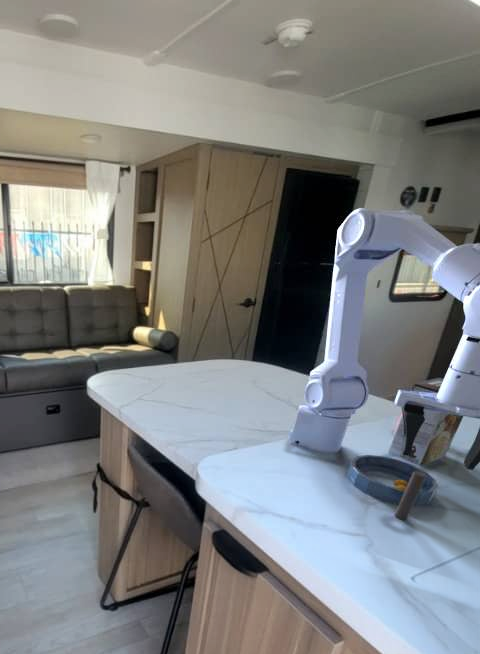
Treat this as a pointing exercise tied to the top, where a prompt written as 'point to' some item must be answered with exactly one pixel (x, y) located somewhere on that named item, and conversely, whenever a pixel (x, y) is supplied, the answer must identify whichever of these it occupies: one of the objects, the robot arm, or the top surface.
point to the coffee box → (428, 430)
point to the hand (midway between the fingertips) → (435, 459)
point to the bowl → (392, 468)
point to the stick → (410, 495)
